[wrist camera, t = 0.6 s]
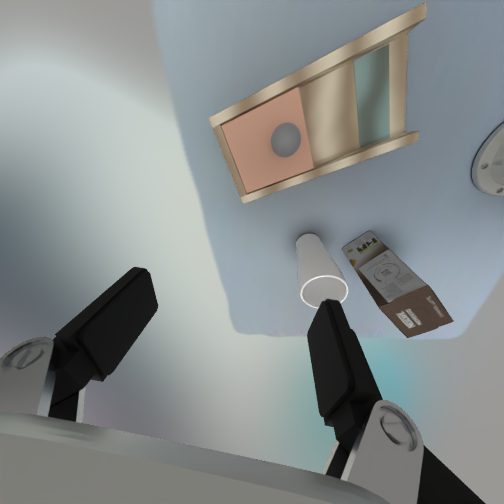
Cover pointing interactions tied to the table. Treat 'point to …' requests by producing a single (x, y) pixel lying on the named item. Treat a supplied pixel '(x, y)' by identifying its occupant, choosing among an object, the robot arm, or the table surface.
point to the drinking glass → (318, 272)
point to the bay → (342, 103)
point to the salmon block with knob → (270, 142)
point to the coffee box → (396, 287)
